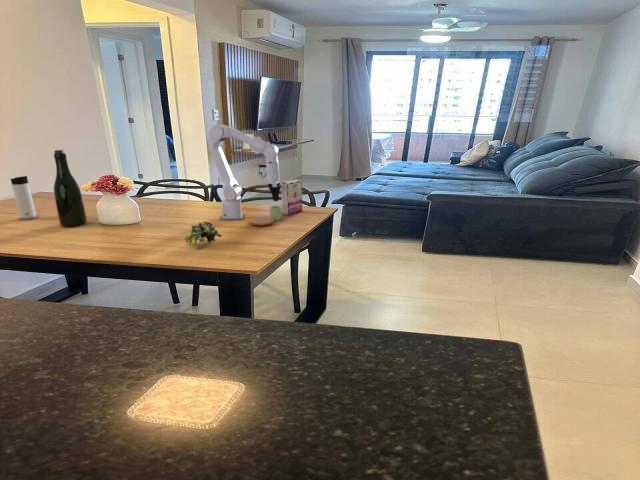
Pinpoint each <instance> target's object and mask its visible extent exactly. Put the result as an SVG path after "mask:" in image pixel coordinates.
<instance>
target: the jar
mask: <svg viewBox="0 0 640 480" xmlns="http://www.w3.org/2000/svg"><path fill="white" fill-rule="evenodd" d="M269 215H270V216H269V218H272V219H273V222H277V221H281V220H282V206H278V205H273V206H269Z"/></svg>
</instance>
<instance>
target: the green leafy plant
mask: <svg viewBox="0 0 640 480" xmlns="http://www.w3.org/2000/svg"><path fill="white" fill-rule="evenodd" d="M190 227H191V231H190V234H189V235H187V234H186V235H185V237H184V241H185V243H186V244H189V245H191V243H193V244H194V245H195V246H197V241H199V248H198V249H201V247H202V245H203V243H204V242H206V241H207V242H209V243H211V242H215V241H216V238H215V237H218V238H221V237H222V234H220V233H218V230H217V229H215V228H216V227H215V226H213V223H212V222H210V221H207V220H206V221H202V222H199V223H198V224H195V225H193V224H191V225H190Z"/></svg>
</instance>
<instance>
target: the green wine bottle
mask: <svg viewBox="0 0 640 480" xmlns="http://www.w3.org/2000/svg"><path fill="white" fill-rule="evenodd" d="M53 159H54V162H55V170H56V172H55V175H56V176H55V179H54V184H53V195H54V201H55V207H56V212H57V217H58V222H59V225H60V226H61V227H63V228H75V227H80V226H84V225H86V224H87V223H88V218H87V214H86V208H85V204H84V199H83V195H82V191H81V187H80V186H79V184H78V182H77V181H76V179H75V177H74V176H73V174H72V173H71V169H70V167H69V163H68V160H67V154H66V152H65V151H64V149H56V150H54V153H53Z"/></svg>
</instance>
